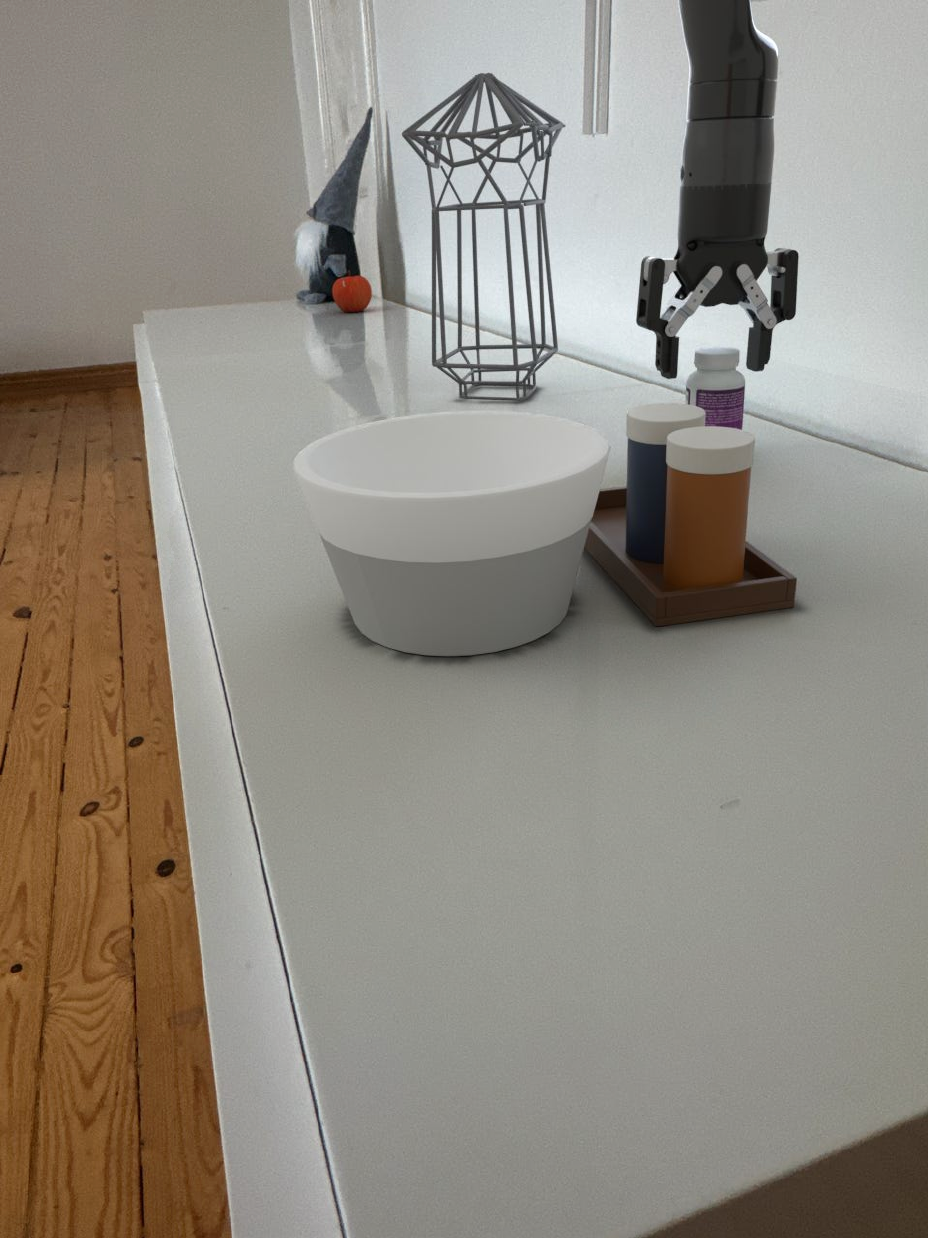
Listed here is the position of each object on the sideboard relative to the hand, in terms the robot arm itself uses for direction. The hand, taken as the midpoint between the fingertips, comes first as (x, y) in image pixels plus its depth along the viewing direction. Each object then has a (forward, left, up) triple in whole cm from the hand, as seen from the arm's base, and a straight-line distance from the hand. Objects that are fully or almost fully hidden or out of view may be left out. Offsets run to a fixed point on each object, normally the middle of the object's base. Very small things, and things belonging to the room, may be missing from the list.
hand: (712, 373), depth 88 cm
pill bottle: (-1, 0, -8) cm, 8 cm away
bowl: (+29, +27, -8) cm, 41 cm away
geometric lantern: (+12, -34, -8) cm, 37 cm away
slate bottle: (+14, +23, -7) cm, 28 cm away
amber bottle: (+14, +30, -7) cm, 34 cm away
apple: (+21, -122, -8) cm, 124 cm away
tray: (+14, +23, -8) cm, 28 cm away
